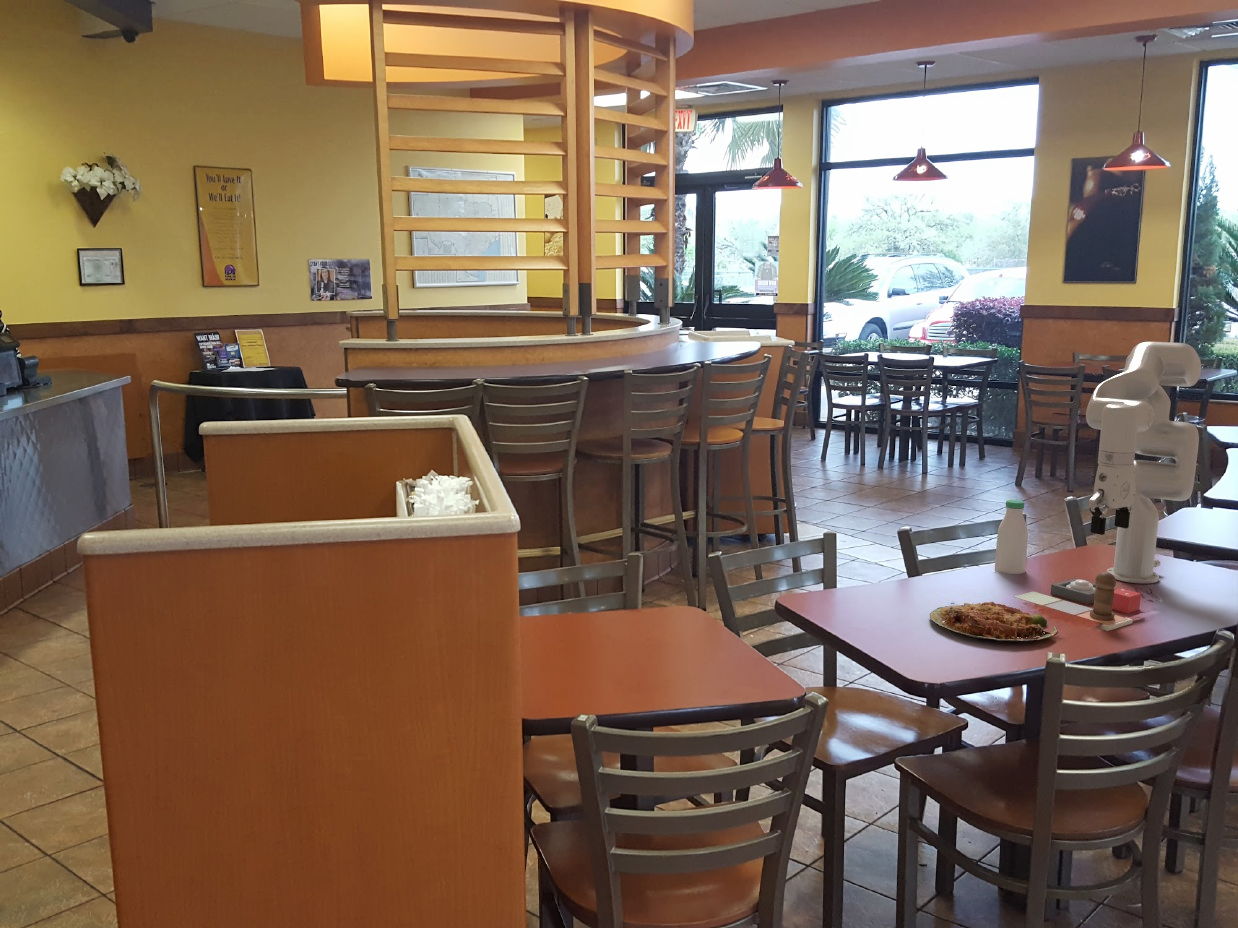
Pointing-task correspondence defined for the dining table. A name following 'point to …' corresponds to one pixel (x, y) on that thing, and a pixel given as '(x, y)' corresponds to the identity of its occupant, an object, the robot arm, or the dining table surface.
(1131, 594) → the die
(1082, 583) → the dome
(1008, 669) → the dining table surface
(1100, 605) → the wooden pepper mill
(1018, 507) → the milk bottle
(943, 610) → the rice dish
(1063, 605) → the board
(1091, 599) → the dome housing
